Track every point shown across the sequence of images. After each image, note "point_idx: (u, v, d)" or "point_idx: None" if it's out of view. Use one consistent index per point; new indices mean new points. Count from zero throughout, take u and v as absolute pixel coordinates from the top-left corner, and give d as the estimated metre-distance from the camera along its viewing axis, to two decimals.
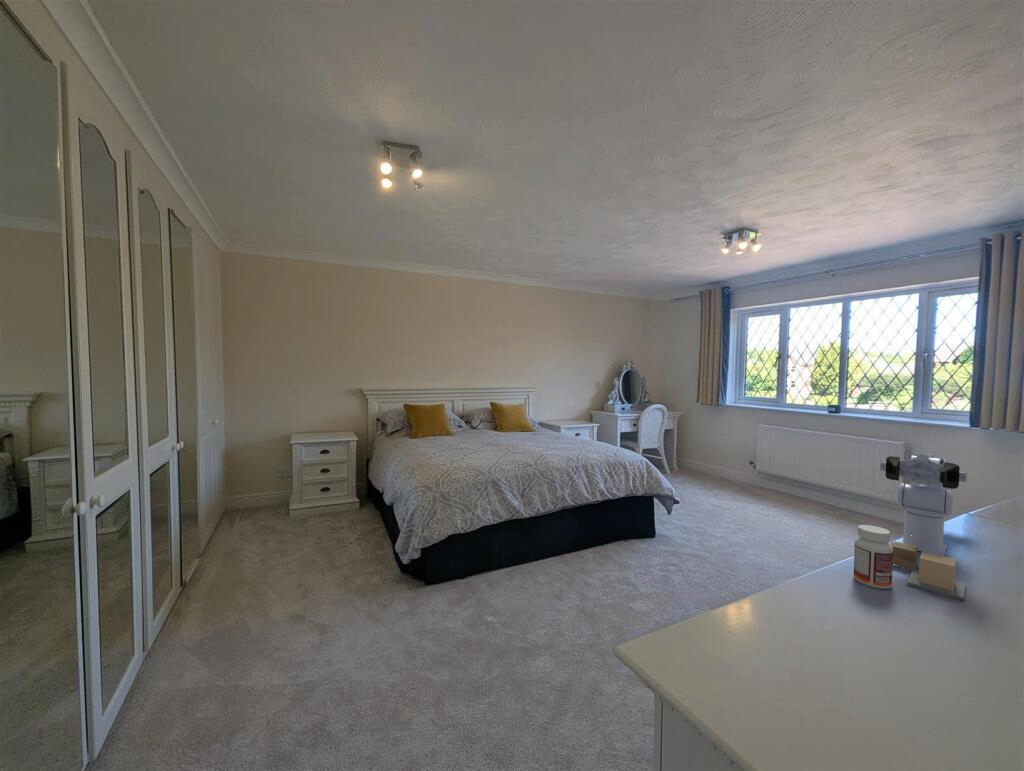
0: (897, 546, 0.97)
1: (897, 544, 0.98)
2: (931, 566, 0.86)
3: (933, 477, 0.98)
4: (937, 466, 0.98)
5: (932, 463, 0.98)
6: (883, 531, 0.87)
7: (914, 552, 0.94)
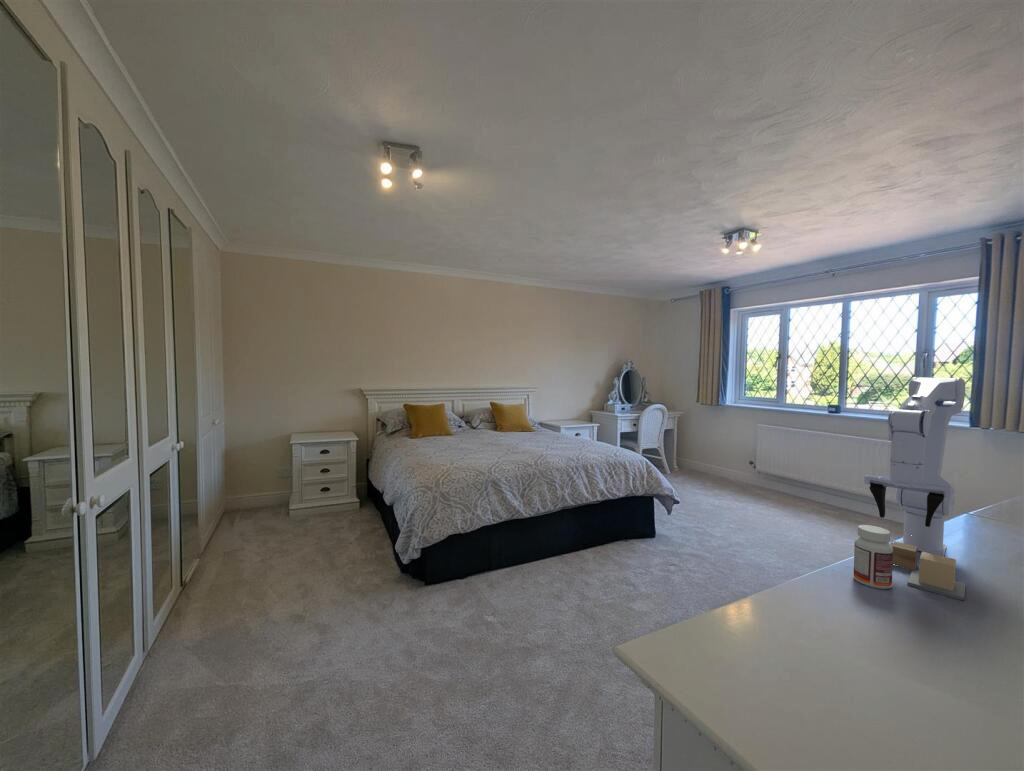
0: (897, 546, 0.97)
1: (897, 543, 0.98)
2: (931, 566, 0.86)
3: None
4: None
5: (915, 487, 0.94)
6: (883, 531, 0.87)
7: (914, 552, 0.94)
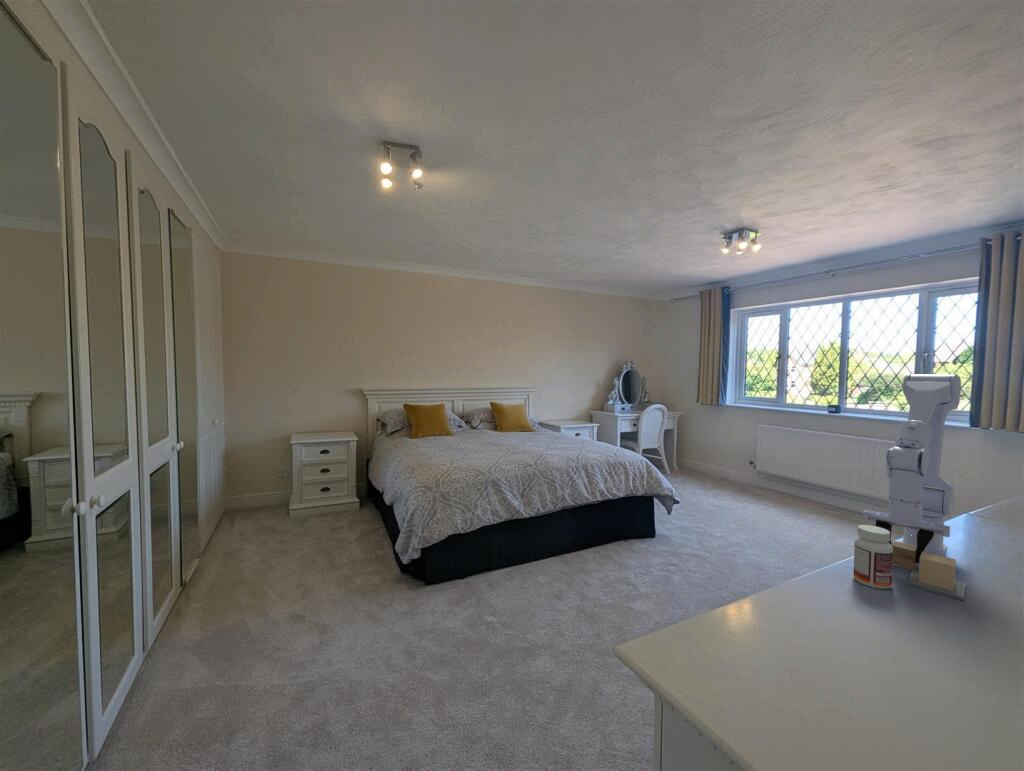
0: (897, 546, 0.97)
1: (897, 543, 0.98)
2: (931, 566, 0.86)
3: None
4: None
5: None
6: (883, 531, 0.87)
7: (914, 551, 0.94)
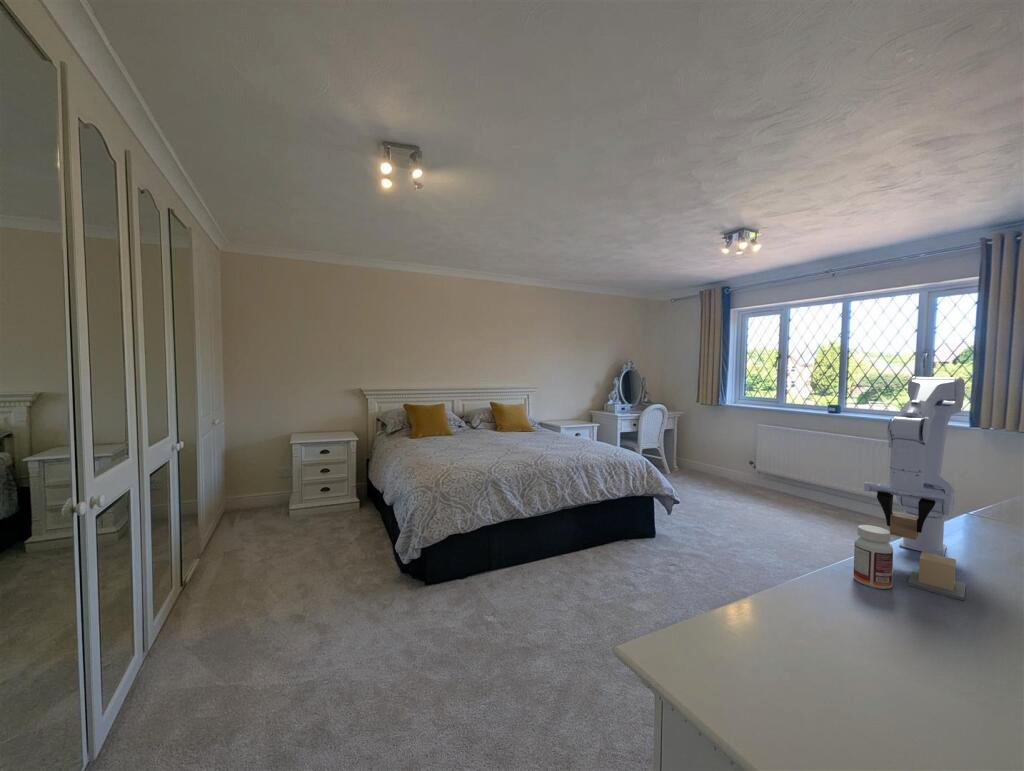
0: (898, 516, 0.96)
1: (898, 514, 0.98)
2: (931, 566, 0.86)
3: None
4: (920, 495, 0.94)
5: None
6: (883, 531, 0.87)
7: (915, 521, 0.94)
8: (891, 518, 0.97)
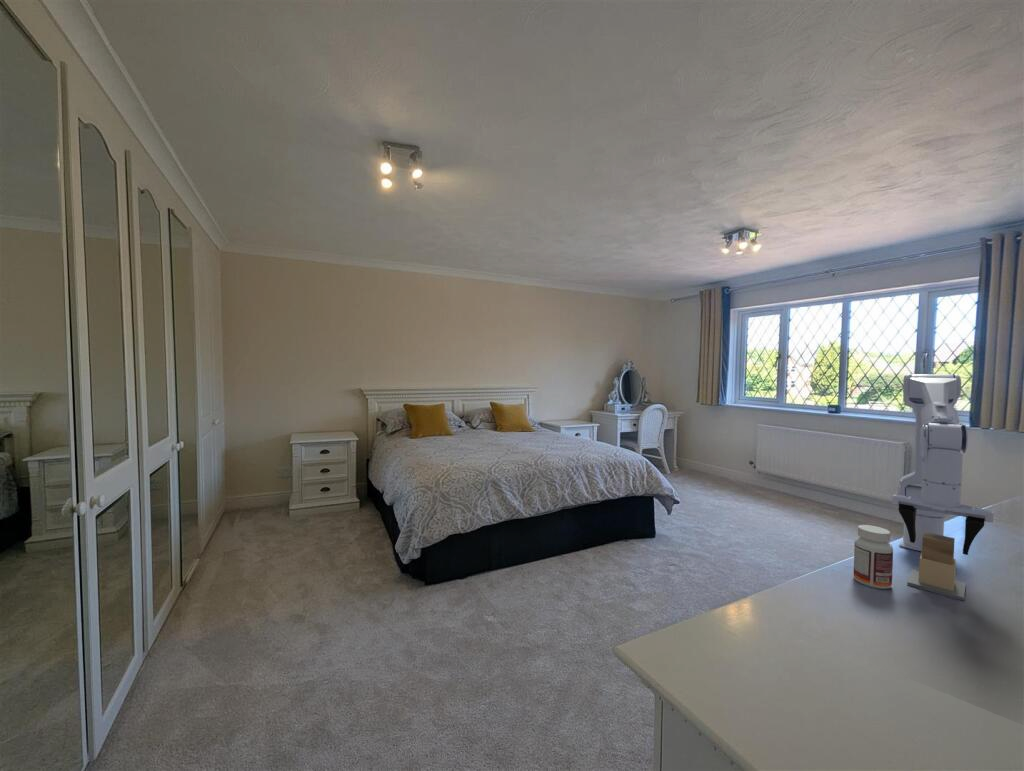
0: (932, 538, 0.87)
1: (931, 535, 0.88)
2: (931, 566, 0.86)
3: None
4: None
5: None
6: (883, 531, 0.87)
7: (952, 544, 0.84)
8: (923, 540, 0.87)
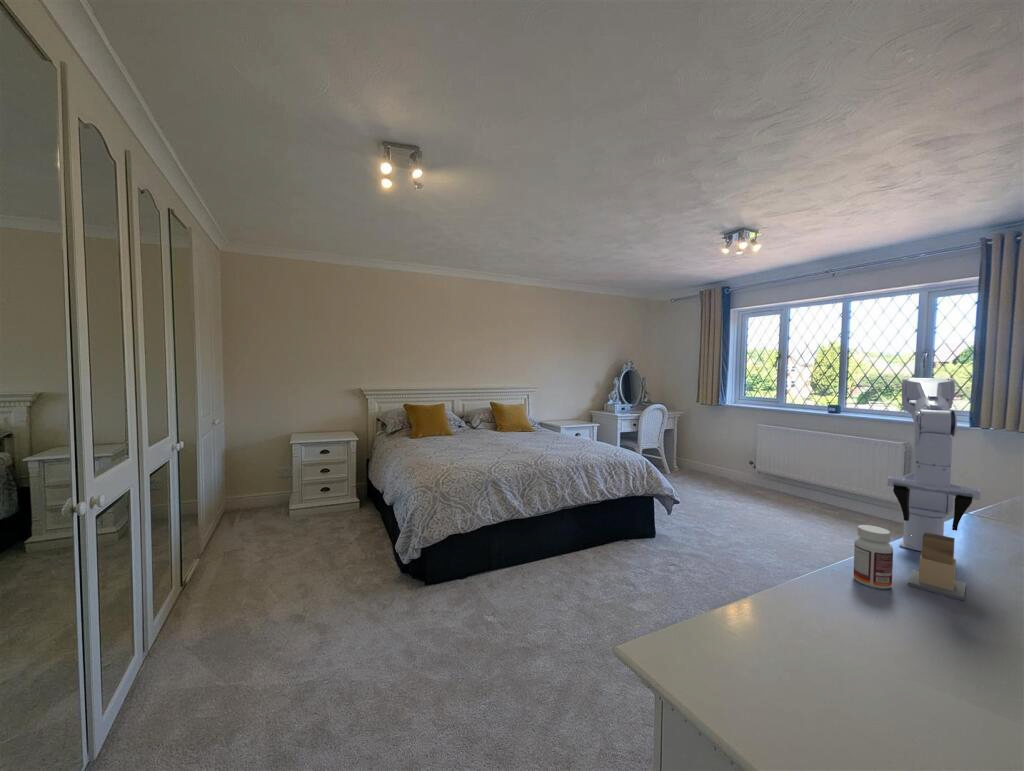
0: (932, 538, 0.87)
1: (931, 535, 0.88)
2: (931, 566, 0.86)
3: None
4: (947, 490, 0.91)
5: None
6: (883, 531, 0.87)
7: (952, 544, 0.84)
8: (923, 540, 0.87)
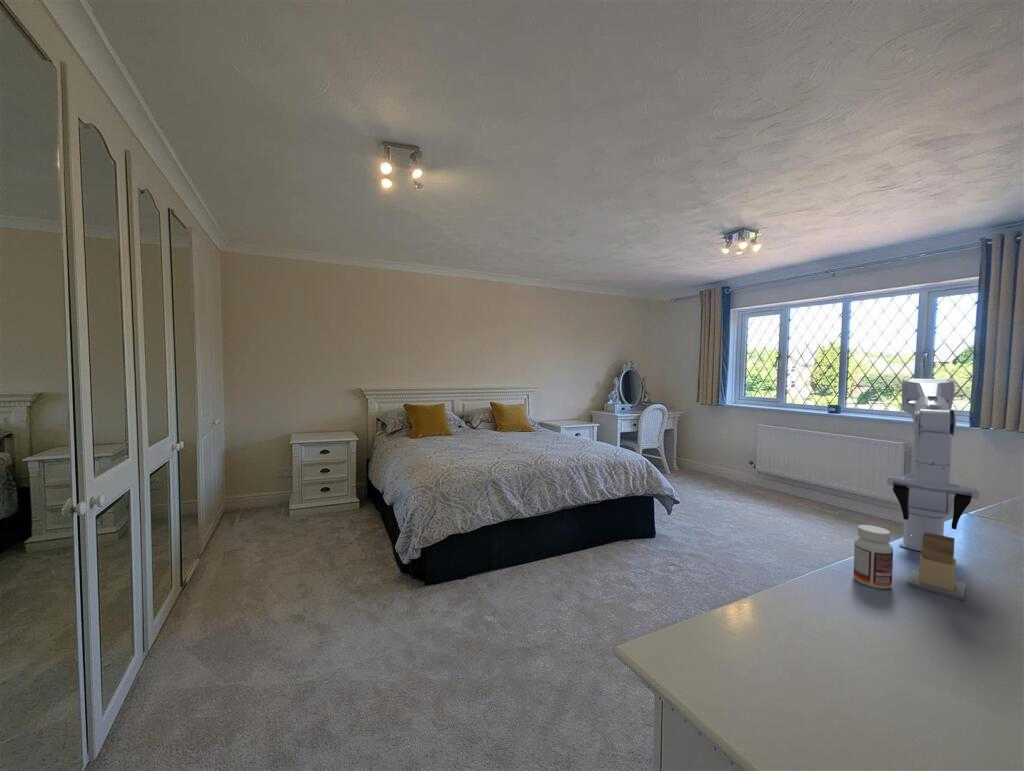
0: (932, 538, 0.87)
1: (931, 535, 0.88)
2: (931, 566, 0.86)
3: None
4: (947, 489, 0.92)
5: None
6: (883, 531, 0.87)
7: (952, 544, 0.84)
8: (923, 540, 0.87)
